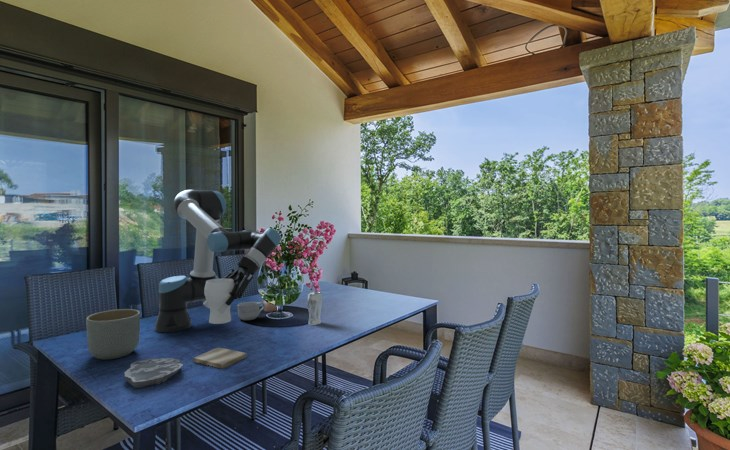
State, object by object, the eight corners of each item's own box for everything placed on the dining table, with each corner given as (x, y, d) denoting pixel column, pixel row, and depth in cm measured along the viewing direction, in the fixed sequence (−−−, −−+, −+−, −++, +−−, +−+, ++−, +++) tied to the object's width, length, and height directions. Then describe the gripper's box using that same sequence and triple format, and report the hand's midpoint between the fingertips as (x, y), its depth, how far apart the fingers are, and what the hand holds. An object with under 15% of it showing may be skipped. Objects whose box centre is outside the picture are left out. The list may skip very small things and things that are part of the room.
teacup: (239, 323, 187) (239, 306, 187) (235, 317, 197) (235, 302, 197) (268, 319, 194) (268, 303, 194) (263, 314, 203) (263, 299, 203)
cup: (198, 323, 139) (197, 282, 138) (219, 315, 149) (218, 277, 148) (221, 326, 135) (221, 284, 134) (241, 318, 145) (241, 279, 144)
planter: (100, 367, 134) (99, 323, 133) (78, 357, 143) (77, 316, 142) (149, 352, 148) (148, 313, 147) (126, 344, 157) (126, 306, 156)
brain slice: (188, 380, 125) (188, 371, 125) (126, 395, 115) (126, 385, 115) (177, 361, 141) (177, 353, 141) (122, 372, 131) (122, 363, 131)
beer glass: (319, 326, 184) (319, 294, 183) (305, 325, 185) (305, 294, 185) (323, 321, 191) (323, 291, 190) (310, 320, 192) (310, 291, 192)
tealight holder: (260, 310, 211) (260, 300, 210) (269, 307, 218) (269, 297, 218) (272, 312, 207) (272, 302, 207) (281, 309, 215) (281, 299, 214)
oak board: (193, 361, 139) (193, 357, 139) (218, 351, 150) (218, 347, 150) (222, 368, 134) (222, 364, 134) (246, 357, 145) (246, 353, 144)
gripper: (273, 271, 144) (234, 321, 134) (243, 265, 160) (206, 308, 150) (260, 258, 140) (219, 308, 130) (231, 253, 156) (192, 297, 146)
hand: (212, 308), depth 140 cm, fingers closed on cup, 10 cm apart
